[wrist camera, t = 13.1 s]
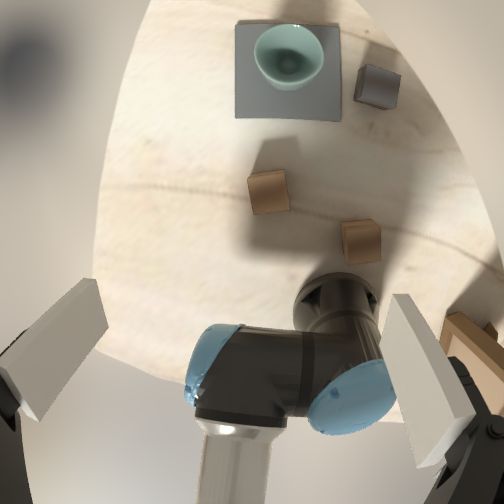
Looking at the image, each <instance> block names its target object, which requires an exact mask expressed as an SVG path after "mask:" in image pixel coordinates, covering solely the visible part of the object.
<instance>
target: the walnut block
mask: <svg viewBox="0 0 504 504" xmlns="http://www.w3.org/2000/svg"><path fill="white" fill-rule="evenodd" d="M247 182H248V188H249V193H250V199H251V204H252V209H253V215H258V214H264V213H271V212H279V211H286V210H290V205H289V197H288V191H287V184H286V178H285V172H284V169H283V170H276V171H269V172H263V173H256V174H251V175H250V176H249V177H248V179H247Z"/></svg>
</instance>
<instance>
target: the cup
mask: <svg viewBox="0 0 504 504" xmlns="http://www.w3.org/2000/svg"><path fill="white" fill-rule="evenodd" d="M254 58H255V62H256V65H257V67H258V69H259V71H260V73H261V75H262V76H263V78H264V79H265V81H266V82H267V83H268V84H269V85H271V86H272V87H274V88H275V89H278V90H281V91H296V90H299V89H302V88H304V87H306V86H307V85H309V84H310V83H311V82H312V81H313V80H314V79H315V78H316V77H317V76H318V74H319V72H320V71H321V69H322V67H323V63H324V51H323V48H322V45H321V43H320V41H319V40H318V38H317V37H316V36H315V35H314V34H313V33H312V32H311V31H310V30H308V29H307V28H305V27H303V26H301V25H297V24H281V25H277V26H274V27H272V28H270V29H268V30H266V31H265V32H264V33H262V34H261V35H260V37H259V38H258V39H257V41H256V43H255V46H254Z"/></svg>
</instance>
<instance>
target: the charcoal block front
mask: <svg viewBox="0 0 504 504" xmlns="http://www.w3.org/2000/svg"><path fill="white" fill-rule="evenodd" d="M400 79H401V75H399V74H396V73H393V72H390V71H387V70H385V69H382V68H379V67H376V66H373V65H369V64H366V65H365V66H364V67H362V68H361V69H360V70H359V71H358V77H357V83H356V88H355V94H354V101H357V102H360V103H364V104H367V105H370V106H374V107H377V108H380V109H383V110H387V109H393V108H396V104H397V98H398V92H399V86H400Z"/></svg>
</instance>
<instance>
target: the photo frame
mask: <svg viewBox="0 0 504 504" xmlns="http://www.w3.org/2000/svg"><path fill="white" fill-rule="evenodd" d="M497 340H498V332H497V331H496V330H495V328H494V327H493V325H492V324H491V323H489V324H488V325H487V327H486V328H485V329H484V331H483V330H482V329H481V328H480V327H478V326H477V325H476V324H475V323H474V322H472V321H471V320H470V319H469V318H468V317H466V316H465V315H464V314H463V313H461V312H460V311H459V312H457V313H454V314H452V315H450V316H447V317H445V321H444V325H443V330H442V334H441V338H440V342H439V344H440V346H441V347H442V349H443V351H444V353H445V354H446V356H447V357H451V356H456V357H457V358H458V359H459V360H460V361H461V362H462V363H464V364H465V366H466V368H467V369H468V371H469V373H470V377H471V376H472V378H473V380H474V382H475V385H477V387H478V389H479V391H480V393H481V395H482V396H483V398H484V400H485V402H486V404H487V406H488V408H489V410H490V412H491V414H495V415H500V416H502V417H503V418H504V348H503V347H502V346H501V345H500V344H498V343H497Z"/></svg>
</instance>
